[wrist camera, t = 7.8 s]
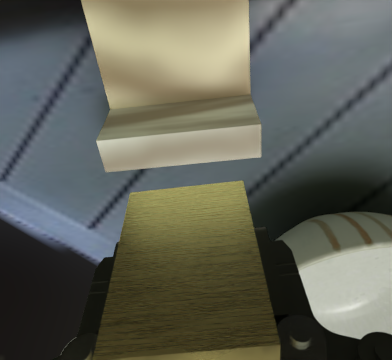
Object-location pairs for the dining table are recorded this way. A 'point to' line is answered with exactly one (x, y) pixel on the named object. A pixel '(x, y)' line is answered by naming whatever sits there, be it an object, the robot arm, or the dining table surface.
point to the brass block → (188, 280)
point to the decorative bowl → (346, 270)
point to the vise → (174, 82)
